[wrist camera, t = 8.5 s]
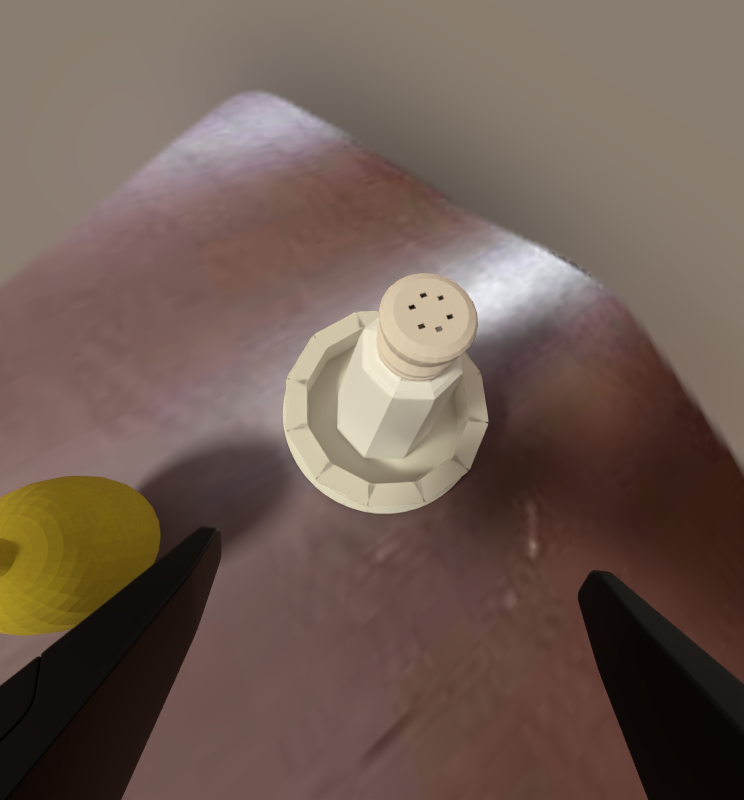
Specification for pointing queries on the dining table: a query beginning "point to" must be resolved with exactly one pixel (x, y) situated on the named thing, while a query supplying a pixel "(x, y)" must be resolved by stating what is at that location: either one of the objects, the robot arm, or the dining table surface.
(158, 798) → the dining table surface
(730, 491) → the dining table surface
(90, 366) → the dining table surface
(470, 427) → the ring dish
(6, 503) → the lemon
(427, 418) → the pepper shaker
